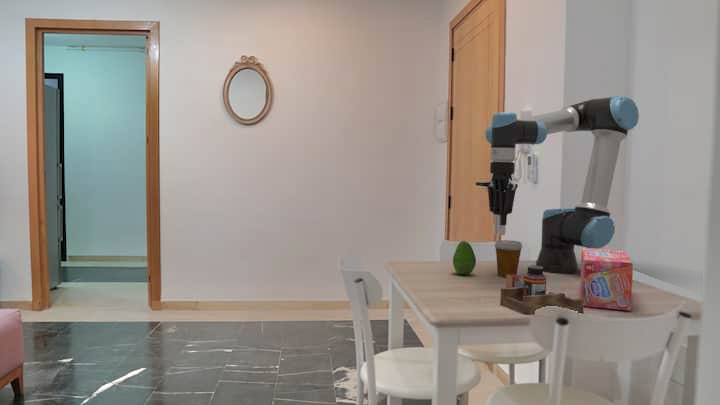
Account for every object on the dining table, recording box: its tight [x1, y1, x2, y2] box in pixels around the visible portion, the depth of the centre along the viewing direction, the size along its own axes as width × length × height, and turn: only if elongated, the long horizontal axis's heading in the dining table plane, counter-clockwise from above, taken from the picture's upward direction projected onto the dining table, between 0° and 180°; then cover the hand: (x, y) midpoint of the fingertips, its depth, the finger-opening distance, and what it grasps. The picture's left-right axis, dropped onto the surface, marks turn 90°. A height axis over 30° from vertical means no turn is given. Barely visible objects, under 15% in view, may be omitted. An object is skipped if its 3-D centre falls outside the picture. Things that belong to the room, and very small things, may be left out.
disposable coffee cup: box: [494, 239, 523, 278], centre depth 192 cm, size 10×10×12 cm
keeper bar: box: [505, 274, 524, 288], centre depth 165 cm, size 3×14×4 cm, turn 23°
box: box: [579, 247, 634, 312], centre depth 162 cm, size 27×13×14 cm, turn 159°
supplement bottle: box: [523, 265, 547, 296], centre depth 150 cm, size 6×6×11 cm
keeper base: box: [499, 287, 585, 315], centre depth 149 cm, size 17×14×4 cm
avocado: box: [452, 240, 477, 276], centre depth 192 cm, size 8×8×12 cm
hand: (499, 234), depth 176 cm, fingers closed
